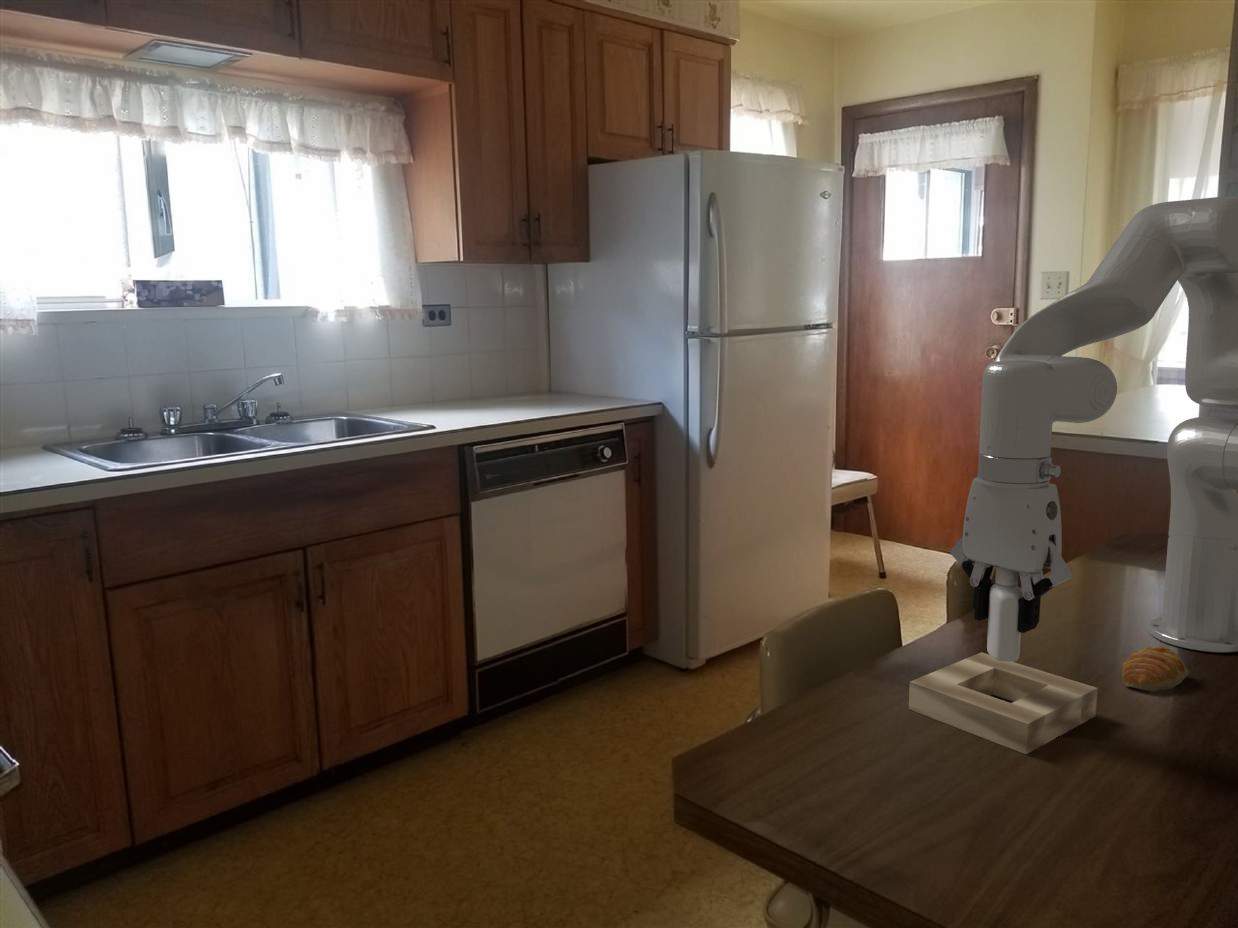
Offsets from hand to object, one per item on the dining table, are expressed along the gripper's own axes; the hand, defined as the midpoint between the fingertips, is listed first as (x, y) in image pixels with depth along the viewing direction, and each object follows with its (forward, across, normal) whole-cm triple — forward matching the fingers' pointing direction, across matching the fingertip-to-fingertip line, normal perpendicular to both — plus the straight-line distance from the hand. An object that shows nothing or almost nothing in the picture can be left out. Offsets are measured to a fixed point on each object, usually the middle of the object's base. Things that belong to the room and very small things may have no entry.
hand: (1005, 622), depth 112 cm
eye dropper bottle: (+4, 0, 0) cm, 4 cm away
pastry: (+12, -7, -24) cm, 27 cm away
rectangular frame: (+11, 0, 0) cm, 11 cm away
